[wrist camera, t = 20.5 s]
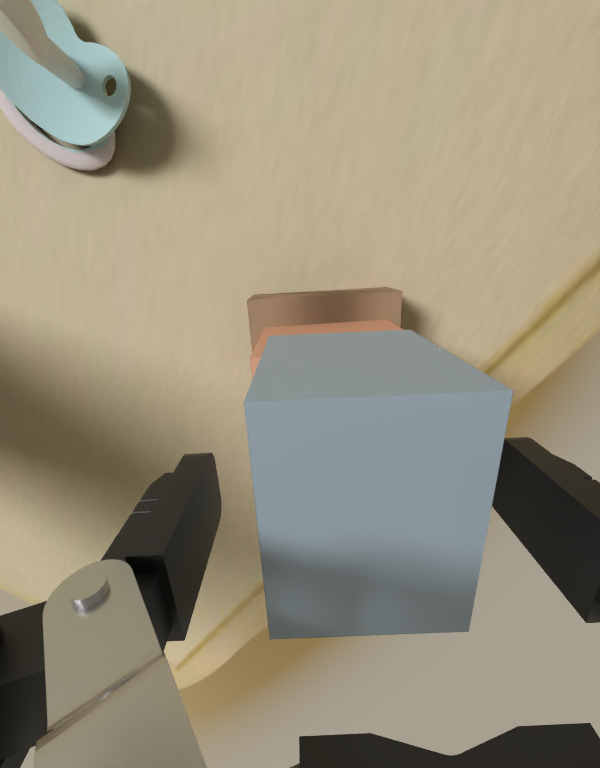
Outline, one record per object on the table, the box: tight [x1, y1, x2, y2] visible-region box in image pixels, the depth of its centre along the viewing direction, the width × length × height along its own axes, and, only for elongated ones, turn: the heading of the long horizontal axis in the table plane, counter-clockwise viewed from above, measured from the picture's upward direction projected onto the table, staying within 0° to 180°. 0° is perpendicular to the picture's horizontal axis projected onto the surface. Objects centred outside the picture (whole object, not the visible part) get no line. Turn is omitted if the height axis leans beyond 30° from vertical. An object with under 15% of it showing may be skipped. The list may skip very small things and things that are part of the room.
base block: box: [247, 287, 402, 353], centre depth 20 cm, size 8×8×3 cm
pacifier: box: [0, 0, 131, 171], centre depth 14 cm, size 7×6×6 cm
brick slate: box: [244, 330, 513, 639], centre depth 10 cm, size 6×5×6 cm
